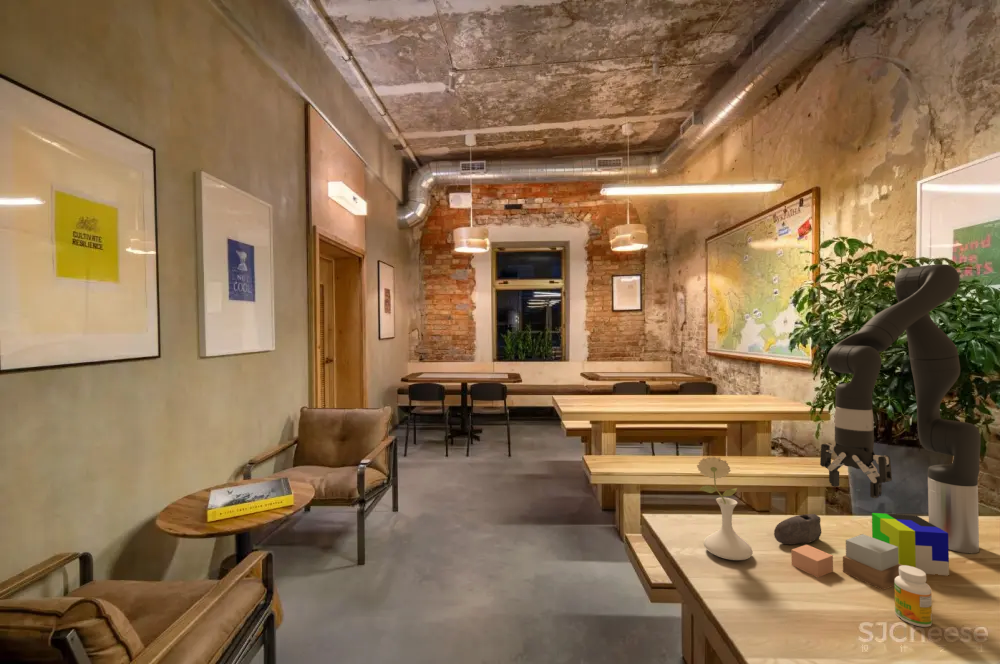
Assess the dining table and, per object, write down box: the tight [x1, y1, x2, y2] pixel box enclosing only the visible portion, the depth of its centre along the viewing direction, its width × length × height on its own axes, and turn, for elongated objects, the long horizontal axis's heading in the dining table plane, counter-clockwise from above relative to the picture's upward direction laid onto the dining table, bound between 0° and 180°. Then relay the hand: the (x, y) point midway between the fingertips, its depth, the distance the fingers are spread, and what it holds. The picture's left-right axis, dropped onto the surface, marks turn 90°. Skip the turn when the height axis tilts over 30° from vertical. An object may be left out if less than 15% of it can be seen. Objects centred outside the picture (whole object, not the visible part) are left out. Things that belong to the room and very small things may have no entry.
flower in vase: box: [696, 455, 754, 561], centre depth 114 cm, size 13×11×25 cm
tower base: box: [842, 554, 902, 591], centre depth 101 cm, size 8×8×4 cm
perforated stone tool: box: [773, 513, 823, 545], centre depth 119 cm, size 15×5×7 cm, turn 101°
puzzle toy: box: [871, 512, 950, 576], centre depth 107 cm, size 10×10×10 cm
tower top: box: [845, 533, 898, 571], centre depth 102 cm, size 7×7×4 cm
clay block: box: [790, 544, 834, 578], centre depth 106 cm, size 6×6×4 cm
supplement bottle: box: [894, 565, 933, 628], centre depth 87 cm, size 5×5×10 cm
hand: (854, 491), depth 107 cm, fingers open, 8 cm apart
